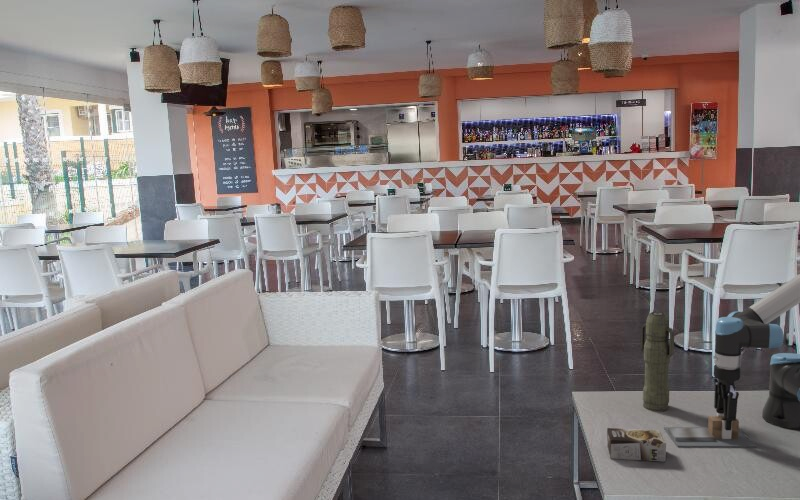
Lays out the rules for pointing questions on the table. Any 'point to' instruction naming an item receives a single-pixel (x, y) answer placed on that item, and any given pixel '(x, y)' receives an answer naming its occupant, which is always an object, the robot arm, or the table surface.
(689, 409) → the table surface
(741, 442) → the mat
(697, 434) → the wood block metal plate
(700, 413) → the table surface
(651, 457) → the coffee box
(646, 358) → the thermos
